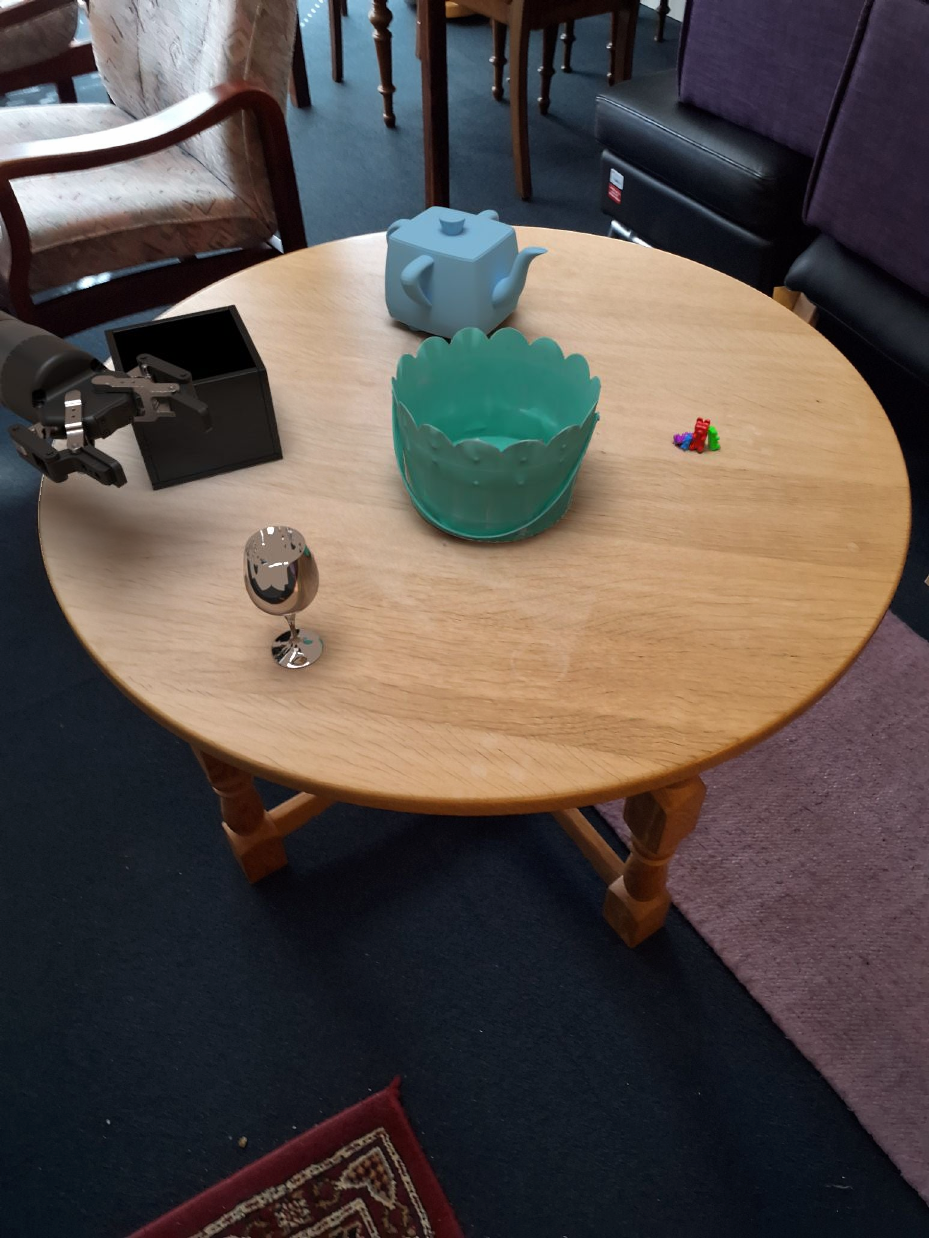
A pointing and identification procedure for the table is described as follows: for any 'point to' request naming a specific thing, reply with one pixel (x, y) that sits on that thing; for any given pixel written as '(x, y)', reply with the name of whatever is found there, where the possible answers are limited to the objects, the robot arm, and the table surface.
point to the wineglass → (284, 589)
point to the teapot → (454, 271)
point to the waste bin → (203, 395)
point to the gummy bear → (699, 436)
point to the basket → (492, 432)
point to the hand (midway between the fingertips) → (165, 448)
